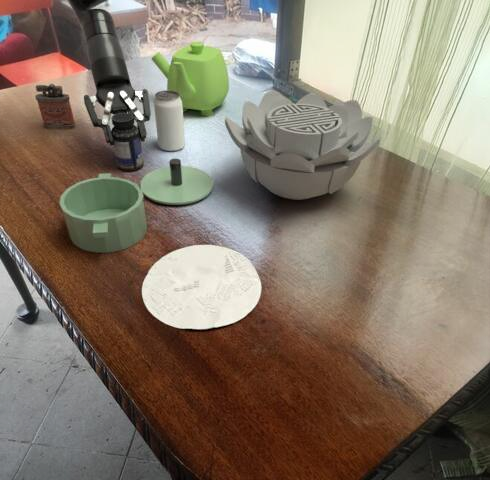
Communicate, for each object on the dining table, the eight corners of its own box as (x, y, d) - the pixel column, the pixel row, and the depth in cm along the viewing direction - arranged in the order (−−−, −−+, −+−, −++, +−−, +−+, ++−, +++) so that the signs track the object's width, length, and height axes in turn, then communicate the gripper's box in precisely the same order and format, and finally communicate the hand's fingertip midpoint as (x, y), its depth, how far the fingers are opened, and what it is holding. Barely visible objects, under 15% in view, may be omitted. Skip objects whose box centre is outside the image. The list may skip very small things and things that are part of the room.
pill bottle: (136, 157, 107) (129, 109, 99) (148, 167, 104) (142, 118, 96) (112, 163, 105) (103, 115, 97) (124, 174, 101) (115, 125, 93)
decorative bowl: (320, 145, 115) (331, 81, 104) (388, 205, 96) (409, 135, 85) (208, 163, 106) (206, 96, 95) (259, 233, 88) (264, 160, 77)
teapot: (171, 86, 139) (166, 26, 127) (238, 97, 135) (239, 35, 123) (133, 117, 123) (123, 51, 111) (207, 130, 118) (205, 63, 107)
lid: (141, 209, 92) (137, 182, 88) (140, 172, 103) (136, 145, 98) (217, 204, 94) (217, 177, 90) (208, 168, 105) (208, 142, 100)
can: (175, 154, 109) (170, 102, 100) (153, 147, 111) (147, 96, 102) (190, 144, 113) (187, 93, 104) (168, 138, 115) (164, 87, 106)
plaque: (209, 236, 86) (208, 229, 85) (285, 291, 77) (286, 284, 76) (119, 286, 77) (117, 279, 76) (193, 355, 68) (192, 349, 66)
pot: (64, 265, 79) (53, 231, 74) (74, 203, 93) (65, 172, 88) (148, 258, 81) (143, 225, 76) (146, 199, 95) (142, 168, 90)
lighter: (77, 123, 119) (67, 82, 111) (74, 129, 116) (64, 87, 109) (45, 123, 118) (34, 82, 111) (42, 129, 116) (30, 87, 109)
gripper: (72, 57, 92) (93, 140, 93) (142, 52, 96) (161, 131, 97) (74, 77, 99) (94, 153, 100) (140, 71, 103) (158, 144, 104)
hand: (127, 142), depth 99 cm, fingers closed on pill bottle, 6 cm apart
